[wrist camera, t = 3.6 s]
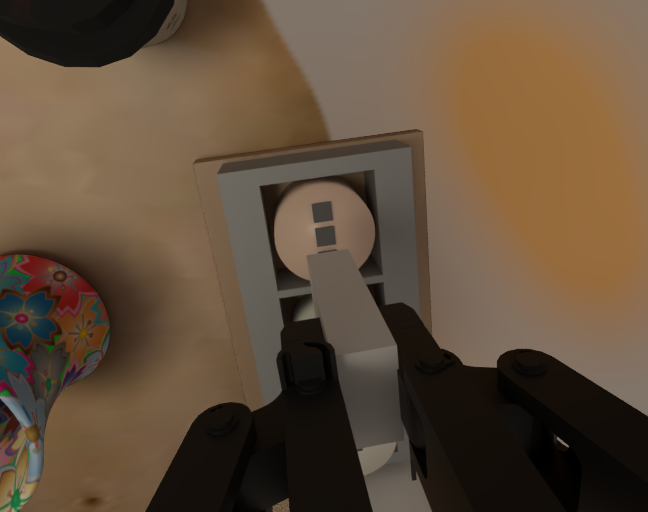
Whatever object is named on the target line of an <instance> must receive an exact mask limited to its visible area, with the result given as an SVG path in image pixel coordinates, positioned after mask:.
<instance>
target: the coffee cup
mask: <svg viewBox="0 0 648 512" xmlns="http://www.w3.org/2000/svg"><path fill="white" fill-rule="evenodd" d="M186 7H187V0H0V36H1V37H2V38H4V39H5V40H7V41H8V42H10V43H11V44H13V45H14V46H16V47H17V48H19V49H20V50H22V51H23V52H25V53H26V54H28V55H30V56H33V57H36V58H39V59H42V60H45V61H48V62H51V63H54V64H58V65H61V66H64V67H101V66H104V65H107V64H110V63H113V62H116V61H119V60H122V59H125V58H128V57H131V56H132V55H133V54H134V53H136V52H137V51H138V50H139V49H141V48H144V47H148V46H152V45H154V44H157V43H160V42H163V41H165V40H167V39H168V38H169V37H170V36H172V35H173V34H174V33H175V32H176V31H177V30H178V28H179V26H180V25H181V23H182V21H183V19H184V16H185V12H186Z"/></svg>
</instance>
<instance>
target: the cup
mask: <svg viewBox="0 0 648 512" xmlns="http://www.w3.org/2000/svg"><path fill="white" fill-rule="evenodd" d="M416 477H417V480H414V481H412V476H411V464H410V460H408V461H402V462H396V463H391V464H385V465H383V466H381V467H380V468H379V469H377V470H376V471H374V472H372V473H370V474H367V475H364V479H365V483H366V487H367V491H368V495H369V498H370V502H371V506H372V510H373V512H432V510H431V508H430V505H429V503H428V500H427V498H426V495H425V492H424V490H423V487H422V485H421V482H420V480H419V477H418V475H417V472H416Z"/></svg>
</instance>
